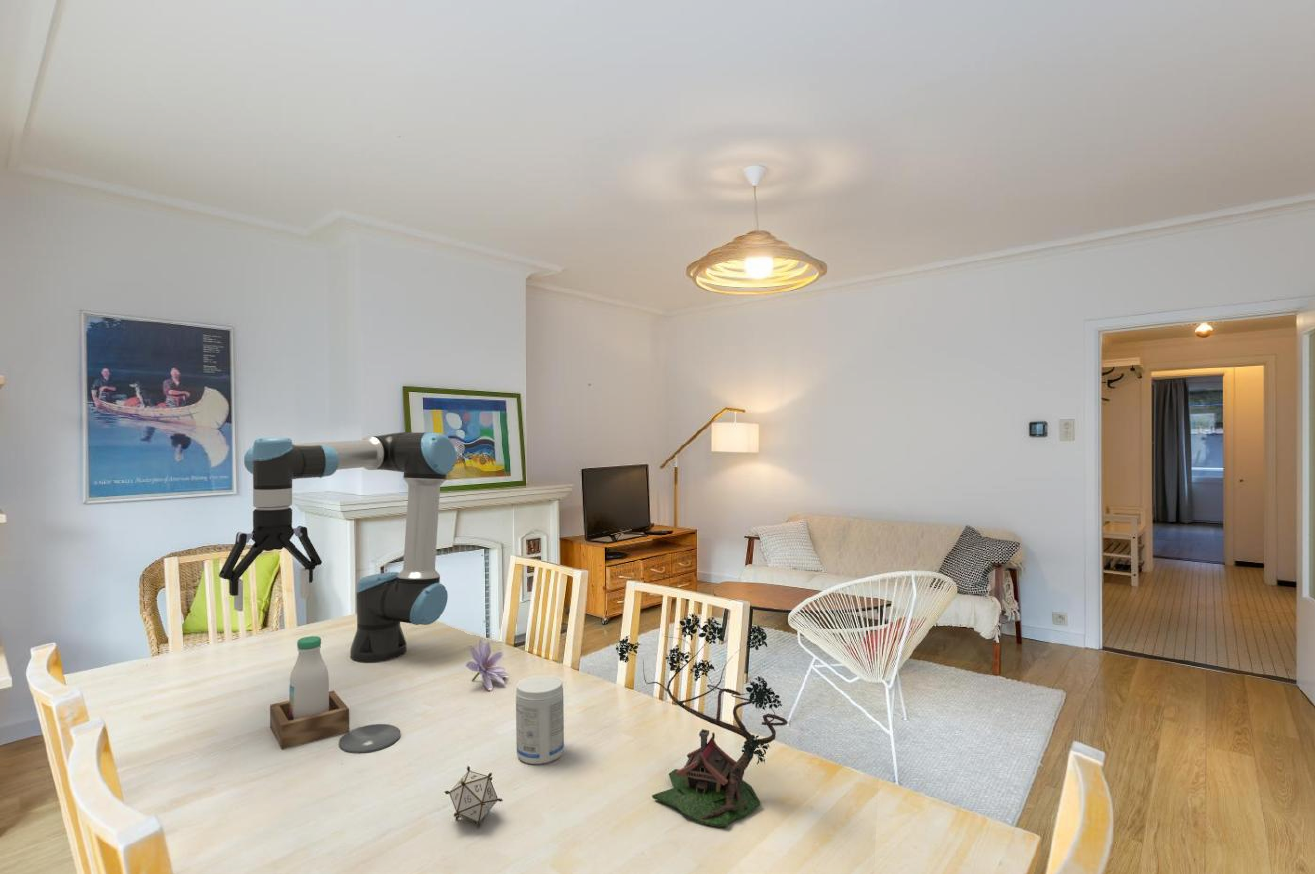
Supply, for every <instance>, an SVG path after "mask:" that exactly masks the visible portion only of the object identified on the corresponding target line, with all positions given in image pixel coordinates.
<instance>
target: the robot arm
mask: <svg viewBox="0 0 1315 874" xmlns="http://www.w3.org/2000/svg"><path fill="white" fill-rule="evenodd" d="M243 458H244V459H243V462H244V464H243V465H244V466H245V469H246V471H248V472H249V473H250V474H252V486H253V487H252V492H253V493H252V506H253V507H254V508H255V509H253V511H252V528H253V529H252V531H251V532H248V533H247V532H240V531H238V532H237V533H236V535H235V541H234V542H235V543H234V544H233V546H232V549H231V550H230V552H229V554H228V556H227V558H226V560H225V562H224V564H223V566H222V568H221V570H220V572H219V573H218V577H219V578H221V579H223V580H228V582H229V583H228V584H229V585H228V586H229V588H228V589H229V591H228V593H229V595H230V596H231V597H233V599H234V600H233V606H234V607H233V610H235V611H237V612H243V611H244V579H241V577H242V576H243V574H244V573H245V572H247V570H248V568H249V567H250V566H251V565H252V564H253V563H254V562H255V560H256V559H257V558H258V556H259V555H261V554H262V553H263V552H264V551H265V552H271V551H274V550H275V551H277V550H278V551H281V550H283V549H285V550H287V552H289V553H290V554H291V555H292V557H294V558H295V559H296V561H298V562H299V564H300V565H302V567H304V568H300V572H299V578H300V581H299V582H300V583H299V584H300V586H299V587H300V588H299V589H300V590H299V596H300V598H302V599H304V600H307V599H310V583H313V582H314V570H315V568H316V567H317V566H320V565H322V563H323V562H322V560H321V557H320V556H319V554H318V551H317V550H316V549H315V546H314V544H313V543H312V541H311V539H310V538H309V533H308V532H309V531H308V528H307V527H306V526H303V525H298V526H297V527H294V528H293V526H292V525H293V509H292V508H291V506H292V505H293V480H298V479H312V478H313V479H314V478H319V479H321V478H323V477H324V478H325V477H330V476H333V475H334V474H335V473H337V470H346V469H347V470H348V469H358V468H359V469H360V468H364V469H366V470H368V471H378V470H380V471H381V470H383V471H391V472H398V473H403V480H404V481H405V482H406V483H407V485H408V490H407V491H408V492H407V505H406V506H407V508H406V521H405V522H406V523H405V533H404V534H405V535H404V552H403V566H402V567H403V568H402V570H400V572H397V571H392V572H391V571H389V572H382V573H376V574H371V575H366V576H364V577H362V578H360V579H359V580H357V581H358V582H357V589H356V592H355V593H356V632H355V635H354V638H353V641H352V643H351V647H350V650H349V652H350V659H351V660H353V661H355V662H360V663H379V662H384V661H391V660H393V659H397V658H400V657H401V656H403V655H405V654H406V653H407V649H408V648H407V645H408V644H407V640H406V637H405V635H404V632H403V630H402V626H401V623H406V624H412V625H415V626H420V625H423V626H428V625H431V624H434V623H435V622H436V621H437V620H439V619H440V617H441V615H442V614H443V613H444V612H445V609H446V607H447V604H448V597H449V596H448V595H449V594H448V590H447V588H446V586H445V585H444V584H442V583H441V580H440V579H441V574H440V573H438V570H436V559H437V558H436V557H437V541H438V540H437V539H438V527H439V523H438V522H439V509H440V495H441V494H440V493H441V492H440V491H441V485H443V484H444V483H445V482H446V480H447V474H450V472H452V471H453V470H454V467H455V465H456V462H457V452H456V448H455V445H454V442H452V440H451V438H449V437H448V436H447V435H446V434H443V433H438V432H432V431H431V432H406V431H405V432H401V431H400V432H394V433H387V434H381V435H373V436H372V435H370V436H366V437H364V438H362V439H361V440H345V441H344V440H343V441H323V442H302V443H301V442H300V443H293V440H292V439H291V438H289V437H259V438H256V439H255V440H254V441H253V446H251V447H249V448H248V449H247V451H245V454H244V457H243ZM294 536H295V537H297V538H298V540H299V542H300V544H301V545H302V547H303V549H304V551H305V553H306V555H307V556H308V557H309V559H308V558H307V557H306V556H305V555H304V554H303V552H301V550H300V549H298V547H296V545H295V544H294V543H293V542H292V541H291V539H292V537H294ZM250 540H252V541H253V542H254V543H253V544H252V546H250V548H249V550H248V551H247V553H246V554H245V555H244V556H243V558H242V559H241V560H240V561H239V559H240V557H241V555H242V553H243V552H244V550H245V548H246V546H247V545H246V544H248V543H249V542H250ZM238 561H239V562H238Z"/></svg>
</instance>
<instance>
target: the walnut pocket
mask: <svg viewBox="0 0 1315 874" xmlns="http://www.w3.org/2000/svg"><path fill="white" fill-rule="evenodd" d="M269 728H270V730H271V731H272V734H273V735H274V738H275V739H276V741H277V743H278V746H279V747H280V749H281V750H286V749H289V748H293V747H298V746H301V745H304V744H308V743H312V742H316V741H319V740H323V739H326V738H330V737H336V736H339V735H344V734H346V733H347V732H349V731H350V708H349V707H348V705H346V703H345V702H344V701H343V700H342V698H341V697H340V696H339V695H338V694H337V693H336V691H335V690H329V711H328V712H323V713H319V714H315V715H311V716H307V717H303V718H299V719H295V720H290V721H289V700H285V701H281V702H276V703H273V704H269Z"/></svg>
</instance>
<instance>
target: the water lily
mask: <svg viewBox="0 0 1315 874" xmlns="http://www.w3.org/2000/svg"><path fill="white" fill-rule="evenodd" d="M477 644H478V646H477V647H478V648H477V649H476V648H475V647H473V646H472V645H471V646H469V652H470V654H471V657H472V658H473V660H474V661H468V662H466V665H465V667H466V668H468V669H469V670H470V671H472V672H474V673H475V672H477V673H476V674H475V675H474V677H473V678H471V682H472V681H474V682H475V680H476V679H477V678H478V677H479V675H481V677H482V681H483V684H484V687H485V688H486V689H487V690H488V691H489V688H492V689H493V683H492V680H493V681H495V682H497V683H500V684H503V685H505V684H506V683H505V681H504V678H502V677H504V676H507V675H508V673H507V669H506V668H505V667H502V666H496V665H497V664H499V663H500V662H501V661H502V660H503V656H504V653H503V651H499V652H496V653H494V654H493V655H491V653H492V652H491V651H492V646H491V642H490V641H488V642H486V645H485V644H484V642H483V639H479V640H478V643H477ZM491 679H492V680H491Z"/></svg>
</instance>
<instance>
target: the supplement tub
mask: <svg viewBox="0 0 1315 874" xmlns="http://www.w3.org/2000/svg"><path fill="white" fill-rule="evenodd" d="M564 714H565V713H564V687H563V681H562V679H561V678H560V677H558V676H555V675H549V674H537V675H532V676H531V675H530V676H528V677H524V678H522V679H520V680H519V681H517V683H516V690H515V729H516V730H515V733H516V734H515V735H516V738H515V739H516V743H515V744H516V756H517V758H518V759H519V760H520V761H521V762H523V763H526V764H530V765H543V763H544V764H548V763H551V762H553V761H555V760H557V759H559V758H560V757H561V756H562V754H563V752H564V750H565V731H564V730H565V727H564V726H565V724H564V721H565V719H564V718H565V717H564Z"/></svg>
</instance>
